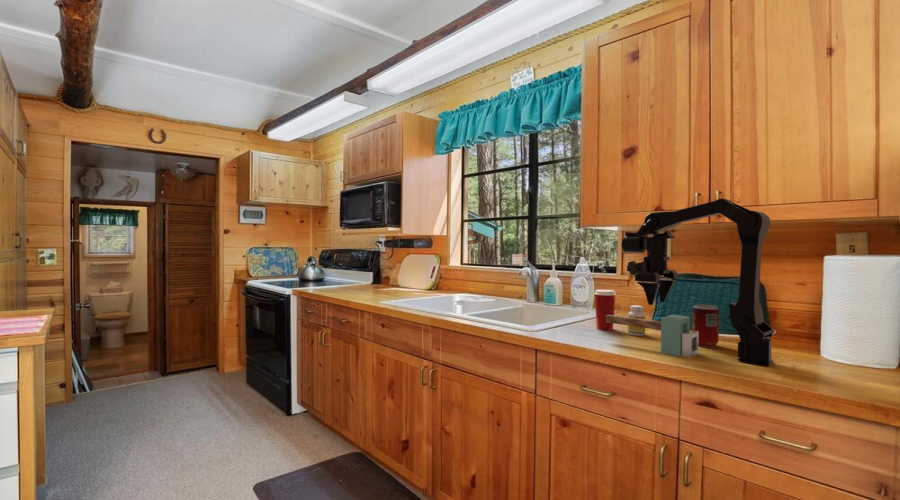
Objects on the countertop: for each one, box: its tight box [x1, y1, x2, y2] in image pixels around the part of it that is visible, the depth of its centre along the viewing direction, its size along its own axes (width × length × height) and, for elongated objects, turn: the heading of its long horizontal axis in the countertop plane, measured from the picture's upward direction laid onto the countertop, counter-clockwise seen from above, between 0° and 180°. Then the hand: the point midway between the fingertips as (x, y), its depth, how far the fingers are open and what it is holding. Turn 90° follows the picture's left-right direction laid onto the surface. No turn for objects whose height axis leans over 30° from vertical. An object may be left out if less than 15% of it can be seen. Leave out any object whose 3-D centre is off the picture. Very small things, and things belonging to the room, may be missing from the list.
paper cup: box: [593, 289, 617, 331], centre depth 155 cm, size 8×8×14 cm
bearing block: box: [660, 314, 691, 357], centre depth 121 cm, size 5×8×10 cm, turn 133°
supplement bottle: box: [627, 304, 646, 337], centre depth 145 cm, size 5×5×10 cm
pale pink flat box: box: [681, 329, 699, 358], centre depth 119 cm, size 2×6×6 cm, turn 133°
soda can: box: [691, 303, 720, 348], centre depth 130 cm, size 7×7×12 cm
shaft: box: [606, 314, 661, 331], centre depth 129 cm, size 19×2×2 cm, turn 43°
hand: (656, 303), depth 132 cm, fingers open, 9 cm apart
